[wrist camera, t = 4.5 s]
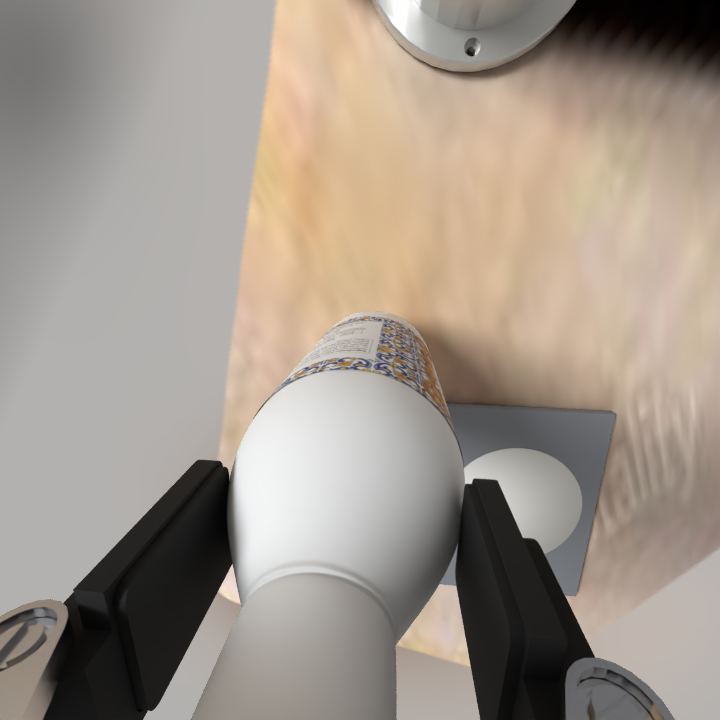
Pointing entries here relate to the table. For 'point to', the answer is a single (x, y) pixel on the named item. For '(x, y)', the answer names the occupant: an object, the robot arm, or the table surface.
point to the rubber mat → (539, 473)
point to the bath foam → (337, 528)
